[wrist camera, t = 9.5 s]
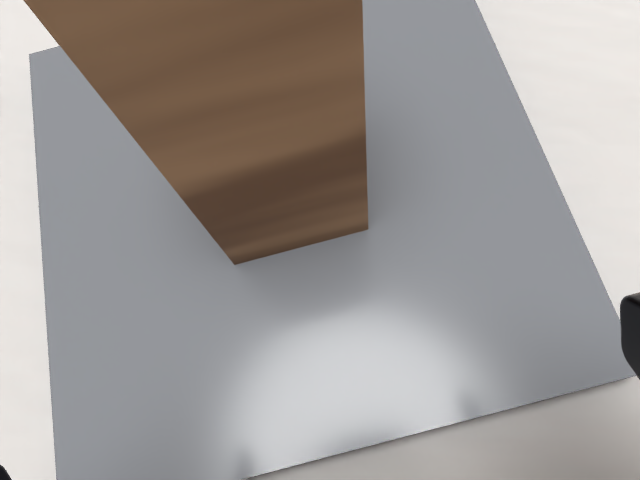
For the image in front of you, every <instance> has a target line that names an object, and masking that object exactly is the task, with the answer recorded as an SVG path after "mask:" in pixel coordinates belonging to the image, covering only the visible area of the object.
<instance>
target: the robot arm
mask: <svg viewBox="0 0 640 480" xmlns="http://www.w3.org/2000/svg"><path fill="white" fill-rule="evenodd" d="M620 326H621V348H622V352H623V354H624V357H625V359H626V361H627V362H628V364H629V365H630V367H631V368H632V370H633V371H634V372H635V374H636V375H637V377H638V378H639V379H640V292H639V293H636V294H632V295H628V296H626V297H624V298H623V299H622V301H621V304H620ZM0 480H12V479H11V478H10V476H9V475H8V473H7V471H6V470H5V469H4V467H3V466H1V465H0Z"/></svg>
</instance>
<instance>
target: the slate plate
mask: <svg viewBox="0 0 640 480" xmlns="http://www.w3.org/2000/svg"><path fill="white" fill-rule="evenodd" d="M362 5H363V43H364V81H365V119H366V158H367V196H368V230H365V231H361V232H357V233H354V234H350V235H346V236H342V237H338V238H335V239H331V240H327V241H323V242H320V243H316V244H312V245H308V246H304V247H301V248H297V249H293V250H289V251H285V252H282V253H278V254H274V255H270V256H267V257H263V258H259V259H255V260H251V261H248V262H244V263H240V264H236V265H234V264H233V263H232V261H231V260H230V259H229V258H228V256H227V255H226V254H225V253H224V251H223V250H222V249H221V247H220V246H219V245H218V244H217V242H216V241H215V240H214V239H213V237H212V236H211V235H210V234H209V232H208V231H207V230H206V229H205V227H204V226H203V225H202V224H201V222H200V221H199V220H198V219H197V217H196V216H195V215H194V214H193V212H192V211H191V210H190V209H189V207H188V206H187V205H186V204H185V202H184V201H183V200H182V199H181V197H180V196H179V195H178V194H177V192H176V191H175V190H174V188H173V187H172V186H171V185H170V183H169V182H168V181H167V180H166V178H165V177H164V176H163V175H162V173H161V172H160V171H159V170H158V168H157V167H156V166H155V165H154V163H153V162H152V161H151V160H150V158H149V157H148V156H147V155H146V153H145V152H144V151H143V150H142V148H141V147H140V146H139V145H138V143H137V142H136V141H135V140H134V138H133V137H132V136H131V134H130V133H129V132H128V131H127V129H126V128H125V127H124V126H123V124H122V123H121V122H120V121H119V119H118V118H117V117H116V116H115V114H114V113H113V112H112V111H111V109H110V108H109V107H108V106H107V104H106V103H105V102H104V101H103V99H102V98H101V97H100V96H99V94H98V93H97V92H96V91H95V89H94V88H93V87H92V86H91V84H90V83H89V82H88V81H87V79H86V78H85V77H84V75H83V74H82V73H81V72H80V70H79V69H78V68H77V67H76V65H75V64H74V63H73V62H72V60H71V59H70V58H69V57H68V55H67V54H66V53H65V52H64V50H63V49H62V48H61V47H60V46H58V47H55V48H51V49H47V50H43V51H40V52H36V53H32V54H29V59H30V75H31V90H32V106H33V121H34V137H35V152H36V168H37V184H38V199H39V215H40V230H41V246H42V261H43V277H44V292H45V308H46V323H47V339H48V355H49V370H50V386H51V401H52V417H53V432H54V448H55V463H56V479H57V480H242V479H246V478H250V477H253V476H257V475H261V474H265V473H269V472H272V471H276V470H280V469H284V468H288V467H291V466H295V465H299V464H303V463H307V462H310V461H314V460H318V459H322V458H326V457H329V456H333V455H337V454H341V453H344V452H348V451H352V450H356V449H360V448H363V447H367V446H371V445H375V444H379V443H382V442H386V441H390V440H394V439H398V438H401V437H405V436H409V435H413V434H417V433H420V432H424V431H428V430H432V429H436V428H439V427H443V426H447V425H451V424H455V423H458V422H462V421H466V420H470V419H473V418H477V417H481V416H485V415H489V414H492V413H496V412H500V411H504V410H508V409H511V408H515V407H519V406H523V405H527V404H530V403H534V402H538V401H542V400H546V399H549V398H553V397H557V396H561V395H565V394H568V393H572V392H576V391H580V390H584V389H587V388H591V387H595V386H599V385H602V384H606V383H610V382H614V381H618V380H621V379H625V378H629V377H633V376H637V375H636V374H635V372H634V371H633V370H632V368H631V367H630V365H629V364H628V362H627V361H626V359H625V357H624V354H623V352H622V348H621V326H620V320H619V318H618V316H617V313H616V311H615V309H614V307H613V305H612V302H611V300H610V298H609V296H608V293H607V291H606V289H605V287H604V285H603V282H602V280H601V278H600V276H599V274H598V271H597V269H596V267H595V265H594V262H593V260H592V258H591V256H590V254H589V251H588V249H587V247H586V245H585V243H584V240H583V238H582V236H581V234H580V231H579V229H578V227H577V225H576V223H575V220H574V218H573V216H572V214H571V212H570V209H569V207H568V205H567V203H566V201H565V198H564V196H563V194H562V192H561V189H560V187H559V185H558V183H557V181H556V178H555V176H554V174H553V172H552V170H551V167H550V165H549V163H548V161H547V158H546V156H545V154H544V152H543V150H542V147H541V145H540V143H539V141H538V139H537V136H536V134H535V132H534V130H533V127H532V125H531V123H530V121H529V119H528V116H527V114H526V112H525V110H524V108H523V105H522V103H521V101H520V99H519V96H518V94H517V92H516V90H515V88H514V85H513V83H512V81H511V79H510V77H509V74H508V72H507V70H506V68H505V65H504V63H503V61H502V59H501V57H500V54H499V52H498V50H497V48H496V46H495V43H494V41H493V39H492V37H491V35H490V32H489V30H488V28H487V26H486V23H485V21H484V19H483V17H482V15H481V12H480V10H479V8H478V6H477V4H476V1H475V0H362Z"/></svg>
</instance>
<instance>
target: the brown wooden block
mask: <svg viewBox="0 0 640 480" xmlns="http://www.w3.org/2000/svg"><path fill="white" fill-rule="evenodd" d="M24 1H25V3H26V4H27V5H28V6H29V8H30V9H31V10H32V11H33V13H34V14H35V15H36V16H37V18H38V19H39V20H40V21H41V23H42V24H43V25H44V27H45V28H46V29H47V30H48V32H49V33H50V34H51V35H52V37H53V38H54V39H55V40H56V42H57V43H58V44H59V45H60V47H61V48H62V49H63V50H64V52H65V53H66V54H67V55H68V57H69V58H70V59H71V60H72V62H73V63H74V64H75V65H76V67H77V68H78V69H79V70H80V72H81V73H82V74H83V75H84V77H85V78H86V79H87V81H88V82H89V83H90V84H91V86H92V87H93V88H94V89H95V91H96V92H97V93H98V94H99V96H100V97H101V98H102V99H103V101H104V102H105V103H106V104H107V106H108V107H109V108H110V109H111V111H112V112H113V113H114V114H115V116H116V117H117V118H118V119H119V121H120V122H121V123H122V124H123V126H124V127H125V128H126V129H127V131H128V132H129V133H130V134H131V136H132V137H133V138H134V140H135V141H136V142H137V143H138V145H139V146H140V147H141V148H142V150H143V151H144V152H145V153H146V155H147V156H148V157H149V158H150V160H151V161H152V162H153V163H154V165H155V166H156V167H157V168H158V170H159V171H160V172H161V173H162V175H163V176H164V177H165V178H166V180H167V181H168V182H169V183H170V185H171V186H172V187H173V188H174V190H175V191H176V192H177V194H178V195H179V196H180V197H181V199H182V200H183V201H184V202H185V204H186V205H187V206H188V207H189V209H190V210H191V211H192V212H193V214H194V215H195V216H196V217H197V219H198V220H199V221H200V222H201V224H202V225H203V226H204V227H205V229H206V230H207V231H208V232H209V234H210V235H211V236H212V237H213V239H214V240H215V241H216V242H217V244H218V245H219V246H220V247H221V249H222V250H223V251H224V253H225V254H226V255H227V256H228V258H229V259H230V260H231V261H232V263H233V264H234V265H236V264H240V263H244V262H248V261H251V260H255V259H259V258H263V257H267V256H270V255H274V254H278V253H282V252H285V251H289V250H293V249H297V248H301V247H304V246H308V245H312V244H316V243H320V242H323V241H327V240H331V239H335V238H338V237H342V236H346V235H350V234H354V233H357V232H361V231H365V230H368V196H367V158H366V119H365V81H364V43H363V5H362V0H24Z"/></svg>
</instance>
